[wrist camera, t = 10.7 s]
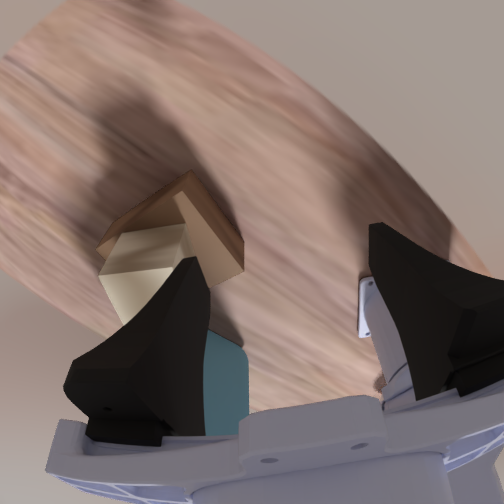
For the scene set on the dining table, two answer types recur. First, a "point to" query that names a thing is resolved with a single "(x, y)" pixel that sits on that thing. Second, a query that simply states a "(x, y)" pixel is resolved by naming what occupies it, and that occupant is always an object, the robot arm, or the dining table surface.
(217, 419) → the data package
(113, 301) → the birch cube
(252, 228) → the dining table surface
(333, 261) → the dining table surface
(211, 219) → the walnut base block
